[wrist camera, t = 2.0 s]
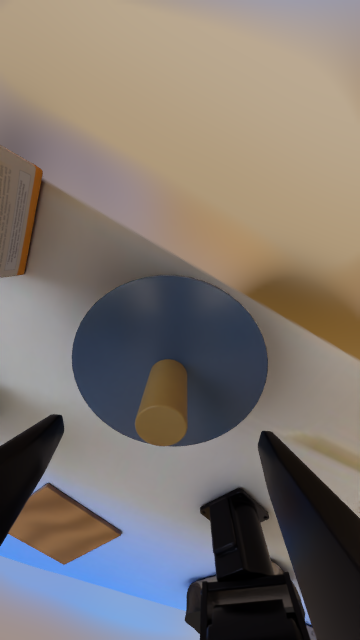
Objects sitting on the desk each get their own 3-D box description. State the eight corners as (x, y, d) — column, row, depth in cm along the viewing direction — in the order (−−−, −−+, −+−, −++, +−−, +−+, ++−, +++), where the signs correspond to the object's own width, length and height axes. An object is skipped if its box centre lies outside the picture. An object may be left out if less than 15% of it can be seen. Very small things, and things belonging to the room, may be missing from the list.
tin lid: (297, 375, 13) (360, 443, 9) (164, 456, 16) (155, 541, 11) (178, 225, 11) (171, 200, 6) (44, 355, 13) (-36, 411, 9)
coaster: (121, 531, 27) (120, 535, 27) (65, 561, 30) (64, 564, 30) (47, 482, 24) (45, 486, 24) (-6, 520, 27) (-9, 524, 27)
